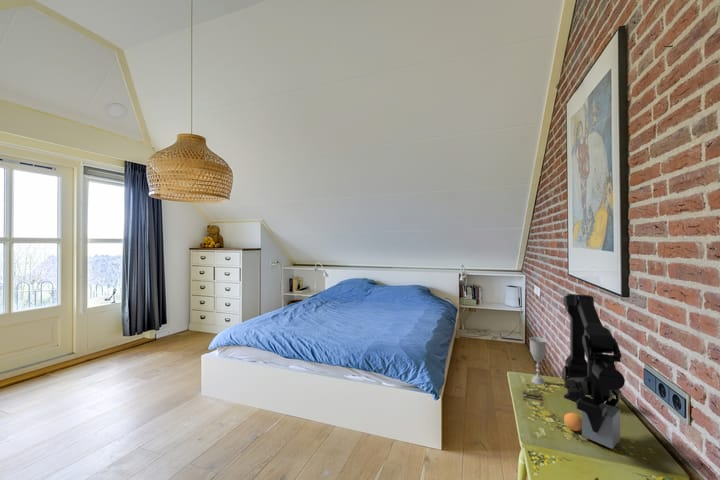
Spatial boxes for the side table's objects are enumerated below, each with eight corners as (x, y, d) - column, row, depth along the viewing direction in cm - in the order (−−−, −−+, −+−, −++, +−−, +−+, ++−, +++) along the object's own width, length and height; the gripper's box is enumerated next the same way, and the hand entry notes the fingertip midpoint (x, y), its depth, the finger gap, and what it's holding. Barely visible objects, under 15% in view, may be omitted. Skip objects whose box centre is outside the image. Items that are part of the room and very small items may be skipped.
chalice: (550, 386, 127) (550, 342, 127) (532, 385, 129) (531, 341, 129) (543, 378, 135) (543, 337, 135) (526, 377, 136) (526, 336, 136)
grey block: (590, 426, 98) (590, 398, 98) (620, 438, 92) (620, 409, 92) (581, 435, 94) (581, 406, 94) (612, 449, 88) (612, 417, 88)
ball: (584, 413, 98) (586, 429, 98) (566, 408, 102) (568, 424, 102) (578, 419, 95) (580, 436, 95) (560, 413, 99) (562, 429, 99)
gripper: (579, 359, 105) (580, 405, 105) (556, 374, 94) (556, 425, 94) (621, 370, 96) (622, 420, 96) (601, 387, 85) (602, 445, 85)
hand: (599, 427), depth 93 cm, fingers closed on grey block, 7 cm apart
